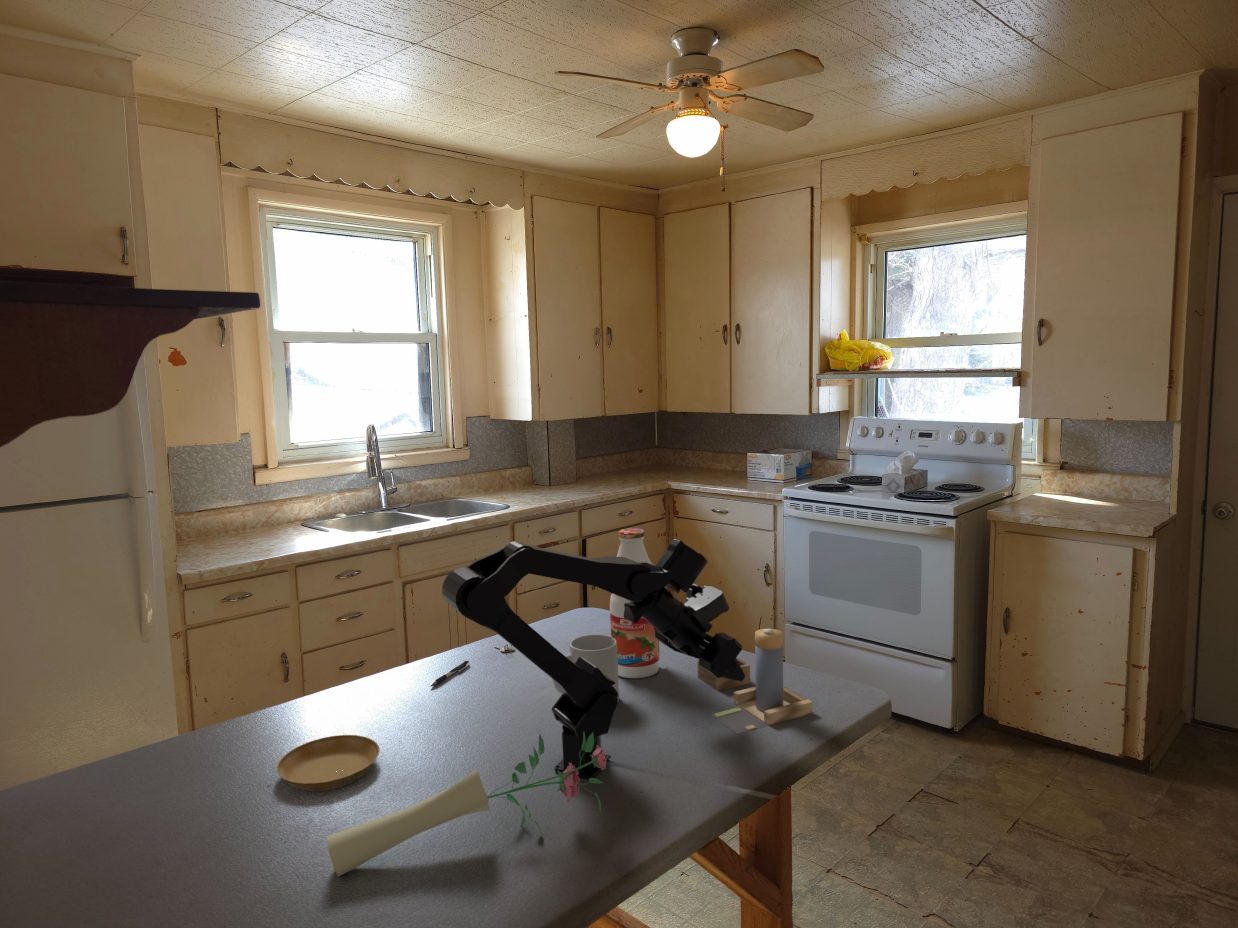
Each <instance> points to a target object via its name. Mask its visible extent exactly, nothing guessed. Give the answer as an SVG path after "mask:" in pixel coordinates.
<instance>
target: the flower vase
mask: <svg viewBox="0 0 1238 928" xmlns="http://www.w3.org/2000/svg"><path fill="white" fill-rule="evenodd" d="M538 735H539V736H538V750H536V748H535V746H534V745H533V746H532V748H533V755H531V754H529V753H528V754H527V755H528V759H529V764H530V767H531V774H530V776H529V779H528V781H526V783H525V784H524V785H520V786H518V787H515V788H514V784H517V785H518V784H519V783H520V779H519V777H520V775H521V774H527V768H526V761H521V762H518V763H517V764H516V766H515V767H514V770H515V771H517V772H519V773H518V774H517V773H516V772H513V773H511V780H510V781H508V783H506V784H504V785H502V786H500V787H498V788H496V789H495V790H494V791H492V792H491V793H490V794H489V795H487V793H486V790H485V787H484V784H483V782H482V779H481V775H480V773H479V771H478V769H477V768H475V769H474V770H473V771H471V772H470V773H469V774H467V775H465V777H463V778H462V779H461V780H459V781H458V782H456V783H455V784H453V785H451V786H450V787H448V788H446V789H444V790H442V791H440V792H438V793H436V794H434V795H431V796H429V797H427V798H425V799H423V800H421V801H419V802H416V803H415V804H413V805H411V806H408V807H405V808H403V809H400V810H398V811H395V812H392V813H389V814H387V815H384V816H381V817H378V818H375V819H373V820H368V821H366V822H364V823H360V824H357V825H355V826H353V827H350V828H346V829H344V830H342V831H338V832H336V833H333V834H330V835H327V836H326V843H327V848H328V853H329V857H330V859H331V863H332V866H333V869H334V871H335V874H336V875H337V877H338V878H339V877H341V876H343V875H345V874H346V873H348V872H351V871H352V870H354V869H356V868H358V867H360V866H361V865H363V864H365V863H366V862H369V861H370V860H372V859H374V858H376V857H378V856H379V855H382V854H383V853H385V852H387V851H389V850H390V849H392V848H394V847H397V846H398V845H400V844H402V843H403V842H405V841H408V840H410V839H412V838H413V837H414V836H415V837H416V836H417V835H419V834H421V833H424V832H426V831H428V830H431V829H433V828H436V827H438V826H441V825H443V824H446V823H448V822H450V821H453V820H455V819H458V818H460V817H463V816H466V815H471V814H476V813H481V812H487V811H490V803H489V799H491V798H494V797H495V798H496V797H498V798H500V799H501V798H504V799H507V800H508V801H510V802H511V803H514V804H515V805H517V806H518V807H519V808H520V810H521V813H522V817H521V822H520V826H523V825H525V823H526V817H527V818H528V819H529V821H532V822H534V823H535V824H536V825H537V827H538V830H539V832H540V834H541V838H542V840H544V835H543V832H542V829H541V827H540V825H539V824H538V822H537V821H536V819H535V820H534V819H531V818H532V815H531V812H530V810H529V809H530V808H529V806H528V804H527V803H525V805H524V806H523V804H521V803H519V801H518V800H517V798H516V797H515V796H513V794H511V793H514V792H515V793H516V792H519V791H522V790H526V789H531V788H535V787H541V786H548V785H556V784H557V785H558V784H559V785H558V786H559V787H558V789H557V790H556V792H561V793H562V794H563V795H564V797H565V798H566V801H565V802H567V804H570V802H571V801H572V798H576V797H577V796H578V795H579V793H578V792H579V790H580V786H581V787H582V788H583V789H584V790H586V791H588V792H590V793H591V794H593V795H595V796H596V798H597V801H598V802H597V803H598V808H599V812H600V813H601V811H602V810H601V809H602V802H601V800H600V798H599V795H598V793H597V792H592V791H591V790H590V789H587V788H586V787H584V786H585V785H588V784H589V783H591V784H599V785H600V784H604V782H603V781H602V780H600V779H598V778H595V777H593V778H588V782H586V783H580V776H577V775H578V774H579V772H578V771H577V770H578V769H581V768H583V767H585V766H587V765H589V764H591V763H593V764H594V767H596V766H597V767H598V768H601V770H600V771H605V769H606V768H607V764H608V763H607V762H606V760H607V759H606V758H607V756H606V755H607V754H605V751H604V749H602V747H601V748H600V747H599V746H598V745H597V747H598V748H596V750H595V751H594V752H593V754H592V755H591V757H592V761H591V762H589V763H587V764H585V765H583V766H581V761H580V767H578V768H575V765H574V766H573V765H572V763H570V762H569V766H567V769H566V770H565V771H564V772H559V771H557V773H558V775H554V776H552V777H548V778H545V779H541V780H537V781H534V782H531V783H529V781H530V780H531V778H532V776H533V773H534V770H535V769H536V767H537V765H539V764H540V757H539V756H541V755H542V754H544V753H545V742H544V739H543V737H542V735H541V733H539V734H538ZM593 746H594V735H593V733H592V734H591V735H590V736H589V737H588V739H587V742H586V740H585V734H584V738H583V744H582V748H581V750H585V752H591V751H592V749H593ZM580 752H581V751H580ZM585 752H584V753H585ZM583 755H584V754H583ZM579 756H580V754H579ZM582 757H583V756H582ZM605 757H606V758H605ZM580 759H582V758H580ZM606 763H607V764H606ZM558 778H559V781H556V780H555V781H551V780H554V779H558ZM511 782H512V787H511V789H508V790H505V791H501V792H496V791H498V790H499V789H501V788H504V787H505V786H507V785H508V784H510V783H511ZM583 785H584V786H583ZM495 792H496V793H495ZM503 795H506V797H505V796H503ZM525 810H526V812H528V815H527V814H526V812H525Z"/></svg>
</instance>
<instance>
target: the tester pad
mask: <svg viewBox="0 0 1238 928" xmlns="http://www.w3.org/2000/svg"><path fill="white" fill-rule="evenodd" d="M711 716H712V717H713V718H714V719H716V721H718V722H720V723H721V724H723V725H724V726H725V727H727V728H728V729H730V730H731V731H732V732H733V733H736V734H737V735H738V734H742V733H747V732H750V731H755V730H758V729H761V728H765V727H768V725H767V724H765V723H763V722H762V721H760V720H759V719H757V718H756V717H754V716H753V715H751V714H750V713H748V712H747V711H745V710H743V709H742V708H740V707H739V706H738V707H734V708H729V709H727V710H723V711H718V712H715V713H711V714H710V717H711Z"/></svg>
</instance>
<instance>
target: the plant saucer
mask: <svg viewBox="0 0 1238 928" xmlns="http://www.w3.org/2000/svg"><path fill="white" fill-rule="evenodd" d="M379 755H380V746H379V744H378V743H377V742H376V741H375V740H374V739H372V738H370V737H366V736H363V735H357V734H339V735H332V736H325V737H321V738H317V739H314V740H311V741H308V742H305V743H303V744H301V745H299V746H296V747H294V748H293V749H291V750H290V751H288V752H287V753H286V754H284V755H283V756H282V757H281V758H280V760H279V761H278V762H277V765H276V773H277V775H278V776H279V777H280V778H281V779H282V780H283V781H285V783H288V784H289V785H290V786H291V787H292V786H293V787H294V788H296V789H299V790H303V791H307V792H323V791H329V790H335V789H338V788H341V786H342V787H344V786H347V785H350V784H351V783H353V782H355V781H356V779H357V780H358V779H359V777H360V778H361V777H362V776H363V775H364V774H366V772H368V770H370V768H371V767H372V766H373V764H374V763H375V762H376V761H377V759H378V756H379ZM342 770H343V771H342ZM336 771H337V772H336ZM337 787H338V788H337ZM334 788H335V789H334Z"/></svg>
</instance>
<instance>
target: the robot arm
mask: <svg viewBox="0 0 1238 928" xmlns="http://www.w3.org/2000/svg"><path fill="white" fill-rule="evenodd" d="M708 563H709V562H708V560H707V558H706V557H705V556H704V555H703V554H702V553H700V552H697V551H696V550H695V549H693V548H692V547H691V546H688V545H687V544H685V543H684V541H683V540H680V539H677V538H673V539H672V540H671V542H670V544H669V545H668V547H667V549H666V551H665V552H664V553H663V554H662V556H661V558H660V559H659V560H658V561H657V563H656V564H653V563H652V564H653V565H652V564H649V563H647V562H635V561H633V560H630V559H628V558H625V557H617V556H602V557H601V556H600V557H586V556H581V555H577V554H572V553H568V552H567V553H566V552H563V551H558V550H554V549H553V550H552V549H549V548H542V547H538V546H533V545H530V544H529V545H527V544H526V543H523V542H521V541H518V540H517V541H515V540H514V541H511V542H508V544H505V545H504V546H503V547H501V548H500V549H498V550H497V551H494V552H492V553H490V554H488V555H485V556H483V557H480V558H477V560H474V561H473V562H472V563H470V564H468V565H467V566H465V567H458V568H456V569H454V570H451V572H450V573H448V574H447V575H446V577H445V578H444V580H443V583H442V587H441V589H442V593H441V596H442V598H443V600H444V601H445V602H446V603H447V604H448V605H450V607H452V608H453V609H454V610H456V612H458V613H459V614H460V615H462V616H463V617H465V618H467V619H469V620H470V621H472V622H474V623H476V624H478V625H480V626H482V627H484V628H486V629H488V630H490V631H493V632H495V633H496V634H497V635H498V636H500V637H501V638H502V639H504V640H505V641H506V642H507V643H509V645H510V646H512V647H513V648H514V649H516V650H517V651H518V652H519V653H521V654H522V655H523V656H524V657H525V658H527V659H528V660H529V662H531V663H532V664H534V665H535V666H536V667H537V668H538V669H540V670H541V671H542V672H543V673H544V674H546V675H547V676H548V677H549V678H551V680H552V682H553V681H554V682H555V684H556V686H557V687H558V689H559V690H560V692H561V693H560V692H559V693H560V694H561V695H560V697H559V698H558V699H557V700H556V702H555V704H554V705H553V706H552V707H551V712H552V715H553V716H554V719H555V720H556V721H557V722H559V723H560V724H561V725H562V728H561V729H562V731H561V744H562V759H561V760H560V761H559V762H558V763H556V765H554V771H555V772H558V771H559V772H561V773H563V772H564V771H565V770H566V769H567V766H569V762H570V763H572V765H573V766H574V765H575V768H578V767H580V761H581V766H583V765H585V764H587V763H589V762H591V761H592V757H591V755H592V754H593V752H594V751H595V750H596V748H598V747H597V745H598V746H599V747H600V748H601V749H602V736H603V735H606V734H608V733H609V731H610V727H611V723H612V719H613V716H614V713H615V710H616V709H617V707H618V704H619V702H618V692H617V691H616V689H615V688H614V687H613V686H612V685H614V684H615V682H614V681H613V680H611V679H610V678H608V677H607V676H605V675H604V674H603V673H602V672H601V671H600V670H599V669H598V668H597V667H596V666H594V665H593V664H591V663H590V662H588V661H587V660H585V659H584V658H582V657H581V656H579V658H578V659H577V661H576V663H573V662H571V661H570V660H569V659H568V658H566V657H565V656H564V655H565V654H563V653H562V652H561V651H560V650H558V648H556V647H555V646H553V644H551V643H550V642H549V641H548V640H547V639H546V638H544V637H543V636H542V635H541V634H539V633H538V631H536V630H535V629H534V628H532V626H530V625H529V624H528V623H527V622H526V621H524V620H523V619H522V618H521V617H520V616H519V615H517V614H516V613H515V611H513V610H512V608H511V606H510V604H509V603H508V601H507V599H506V598H505V597H506V596H509V594H510V593H511V592H512V591H513V589H515V587H516V586H517V585H518V584H519V582H520V581H522V579H523V578H525V577H526V576H528V575H533V576H539V577H546V578H550V579H555V580H556V579H557V580H560V581H565V582H566V581H567V582H572V583H577V584H582V585H588V586H592V587H596V588H598V589H601V590H604V591H606V592H608V593H611V594H612V593H613V594H615V595H617V596H620V597H622V598H625V599H627V600H630V601H631V602H629V603H625V604H624V607H625V610H624V618H625V619H627V620H629V621H631V622H633V623H635V624H636V623H638V621H639V620H640V619H641V617H643V618H644V619H645V620H646V621H648V622H649V623H650V624H651V625H652V626H653V627H654V628H653V629H654V630H655V637H656V638H657V639H658V640H659V643H661V644H662V645H665V646H666V647H668V648H669V649H671V650H672V651H673V652H677V653H680V654H682V655H686V656H689V657H692V658H695V659H697V660H699V665H700V666H701V667H702V668H704V669H705V670H706V671H708V672H709V673H710V674H712V675H714V676H715V677H717V678H720V677H723V678H728V679H733V680H737V681H743V679H744V678H745V674H744V672H743V670H742V669H741V667H740V665H739V663H738V661H737V659H736V658H738V656H739V654H740V653H741V651H742V650H743V645H742V644H741V643H740V642H739V641H738V640H737V639H736V638H734V637H732V636H730V635H728V634H727V633H726V632H717V633H715V634H714V635H713V636H712V635H711V634H709V632H710V631H711V629H712V628H713V624H711V623H710V622H713V620H716V619H717V618H718V617H720V616H721V615H723V614H724V613H727V612H728V611H729V610H730V606H729V603H728V600H727V599H726V596H725V594H724V592H723V590H721V589H719V588H717V587H715V586H707V585H703V586H702V587H703V588H702V587H701V586H699V585H698V584H695V582H696V580H697V579H698V578H699V577H700V575H701V573H703V571H704V570H705V567H707V565H708ZM668 589H669V590H670V591H669V590H668ZM671 591H672V592H674V593H676V594H679V593H680V592H681V591H682V592H684V593H685V596H686V602H684V603H683V602H682V601H680V600H679V599H678V598H677V597H676V596H674V595H673V593H671ZM592 733H593V735H594V746H593V749H592V751H591V752H585V750H581V748H582V744H583V738H584V734H585V740H586V742H587V739H588V737H589V736H590V735H591V734H592ZM580 751H581V752H580ZM584 752H585V753H584ZM579 754H580V756H579ZM583 754H584V755H583ZM605 755H606V757H605V758H606V759H607V760H606V762H607V763H606V765H607V764H608V763H609V762H610V761H611V760H610V758H611V755H610V754H605ZM582 756H583V757H582ZM580 758H582V759H580ZM577 771H578V772H579V774H578V775H577V776H578V777H581V778H587V779H589V778H595V777H596V775H597V774H599V772H601V771H602V770H601V768H598V767H597V766H596V767H594V764H593V763H591V764H589V765H587V766H585V767H583V768H581V769H578V770H577Z"/></svg>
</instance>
